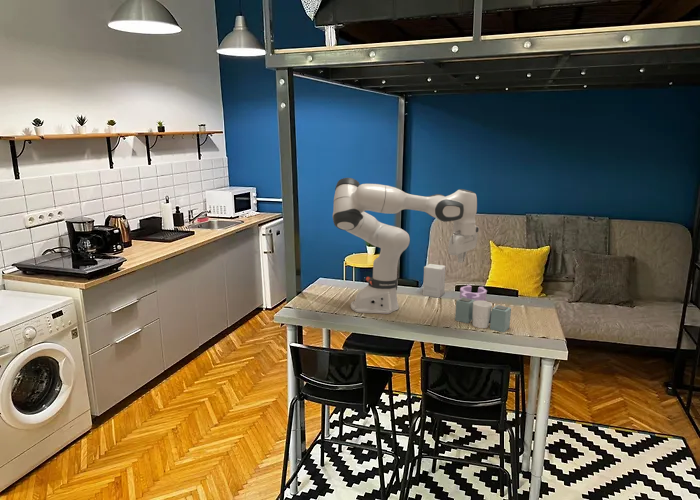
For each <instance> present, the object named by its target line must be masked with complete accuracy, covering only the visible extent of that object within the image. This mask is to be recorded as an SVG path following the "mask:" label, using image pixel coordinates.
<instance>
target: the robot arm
mask: <svg viewBox="0 0 700 500" xmlns="http://www.w3.org/2000/svg"><path fill="white" fill-rule="evenodd" d="M334 191H335V192H334V197H333V202H332V203H333V212H332V220H333V224H334V226H335V227H336V228H337V229H339V230H342V231H345V232H347V233H349V234H351V235H353V236H355V237H358V238H360V239H362V240H364V241H365V242H367V244H370V245H371V246H374V247H377V248H380V251H379V255H378V257H376V258H375V259H374V261H373V262H372V263H373V264H372V265H373V266H372V277H370V276H366V278H365V280H366V282H367V283H368V285H366V286H365V287H364V288H362V289H360V290H359V291H358V292H357V293H356V295H355V300H353V301H351V302H350V308H351V310H352V311H353V312H355V313H359V314H360V313H362V314H363V313H364V314H387V315H388V314H391V313H393V312H395V311H397V310H399V302H398V296H397V295H398V294H397V290H398V287H399V285H398V284H399V283H398V278H397V277H398V275H397V274H398V265H399V259H400V257H401V255H402V254H403V252H404V251H406V250H407V248H408V247H409V245H410V242H411V241H410V240H411V238H410V235H409V233H408V232H407V231H406V230H404V229H402V228H401V227H397V226H395V225H390V224H386V223H383V222H381V221H379V220H378V219H377V218H376V217H375V216H373V215H371V214H370V213H368V211H370V212H374V213H381V214H386V215H387V214H391V215H392V214H394V215H395V214H398V213H400V212H401V211H403V210H410V211H411V210H412V211H419V212H423V213H426V214H427V215H429V216H430V217H432V218H434V219H436V220H438V221H440V222H442V223H443V222H444V223H448V222H453V223H452V225H453V226H452V235H450V237H449V241H448V246H447V247H448V249H447V252H448V255H452V256H456V257H457V263H458V264H459V263H461V264H462V263H464V262H465V261H466V256H467V254H468V252H469V251H471V250H474V249H475V248H476V247H477V245H478V244H477V243H478V236H479V235H478V234H479V232H480V227H479V226H478V225H476V223H477V222H476V216H477V211H478V198H477V194H476V193H475V192H474V191H472V190H467V189H463V188H459V189H457V190H456V191H455V192H453V193H451V194H448V195H446V196H445V195H443V194H441V193H440V194H439V193H435V194H432V195H427V196H424V195H417V194H410V193H407V192H405V191H403V190H401V189H400V188H398V187H395V186H391V185H386V184H380V183H362V184H360V182H359V181H358V180H356V179H355V178H352V177H343V178H341V179H339V180H338V181H337V183H336V185H335V188H334ZM366 211H367V212H366Z"/></svg>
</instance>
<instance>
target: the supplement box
mask: <svg viewBox="0 0 700 500" xmlns="http://www.w3.org/2000/svg"><path fill="white" fill-rule="evenodd" d="M446 268H447V267H446V265H443V264H442V265H441V264H433V263H428V264H427V265H425V266H423V279H422V281H423V283H422V284H423V286H422V295H423V296H427V297H430V298H431V297H432V298H441V297H442V296H443V295H444V294H445V285H446V284H445V283H446V270H447V269H446Z"/></svg>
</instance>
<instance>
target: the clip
mask: <svg viewBox="0 0 700 500" xmlns="http://www.w3.org/2000/svg"><path fill="white" fill-rule="evenodd" d="M472 289H473V288H472V285H470V284H467V285H464V286H461V287H460V289H459V299H460V298H462V297H463V298H468V299H473V300H475V301H487V292H488V290H487V289H486V288H484V286H479V287H478V288H477V292H472Z"/></svg>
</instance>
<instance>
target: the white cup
mask: <svg viewBox="0 0 700 500" xmlns="http://www.w3.org/2000/svg"><path fill="white" fill-rule="evenodd" d="M492 308H493V304H492V302H489V301H487V300H486V301H474V302H473V313H472V314H473V316H472V318H473V320H472V321H471V322H472V326H473V327H475V328H479V329H487V328H489V327H490V323H489V321H490V315H491V311H492Z"/></svg>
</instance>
